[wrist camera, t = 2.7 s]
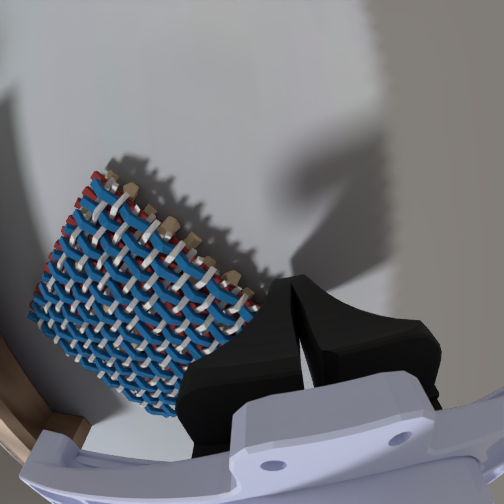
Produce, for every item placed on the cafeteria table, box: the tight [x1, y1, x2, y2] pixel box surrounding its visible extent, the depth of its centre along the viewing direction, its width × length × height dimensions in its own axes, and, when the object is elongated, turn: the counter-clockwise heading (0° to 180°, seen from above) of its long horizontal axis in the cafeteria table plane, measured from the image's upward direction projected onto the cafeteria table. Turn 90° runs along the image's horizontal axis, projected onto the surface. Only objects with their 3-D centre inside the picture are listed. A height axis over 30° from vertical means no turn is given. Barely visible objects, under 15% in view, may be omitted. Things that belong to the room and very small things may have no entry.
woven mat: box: [27, 170, 261, 418], centre depth 13 cm, size 10×11×2 cm
